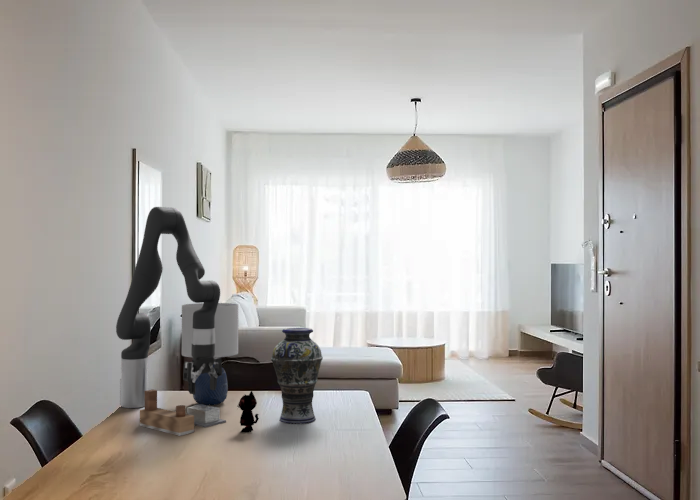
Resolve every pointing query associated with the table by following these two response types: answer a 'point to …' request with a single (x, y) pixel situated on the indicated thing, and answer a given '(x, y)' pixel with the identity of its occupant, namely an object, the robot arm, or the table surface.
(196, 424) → the felt mat
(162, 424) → the plane body
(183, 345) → the lamp
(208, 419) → the lever cap
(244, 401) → the cat figurine
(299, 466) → the table surface
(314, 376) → the vase
